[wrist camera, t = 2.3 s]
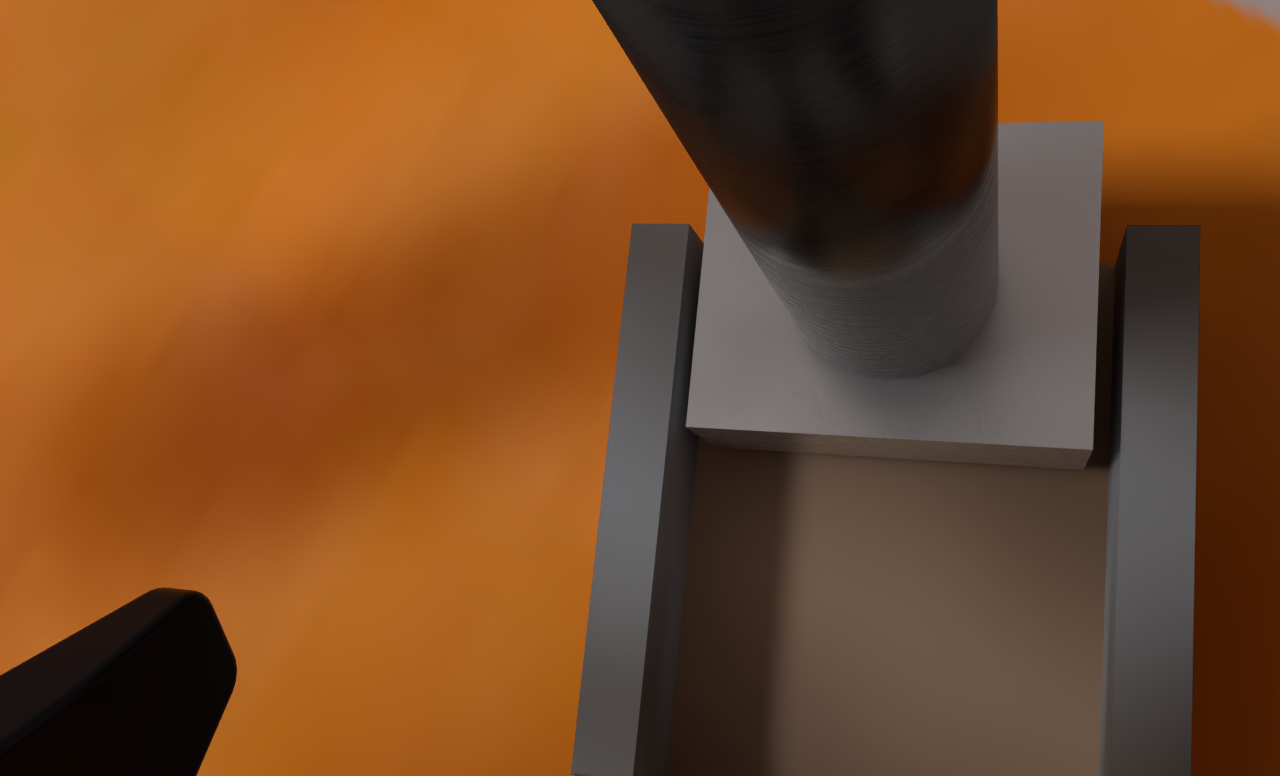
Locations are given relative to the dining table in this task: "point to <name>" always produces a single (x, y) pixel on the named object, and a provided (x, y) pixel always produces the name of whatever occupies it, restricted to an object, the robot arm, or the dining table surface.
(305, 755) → the dining table surface
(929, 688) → the press base
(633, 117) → the dining table surface
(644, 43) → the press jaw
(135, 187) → the dining table surface
